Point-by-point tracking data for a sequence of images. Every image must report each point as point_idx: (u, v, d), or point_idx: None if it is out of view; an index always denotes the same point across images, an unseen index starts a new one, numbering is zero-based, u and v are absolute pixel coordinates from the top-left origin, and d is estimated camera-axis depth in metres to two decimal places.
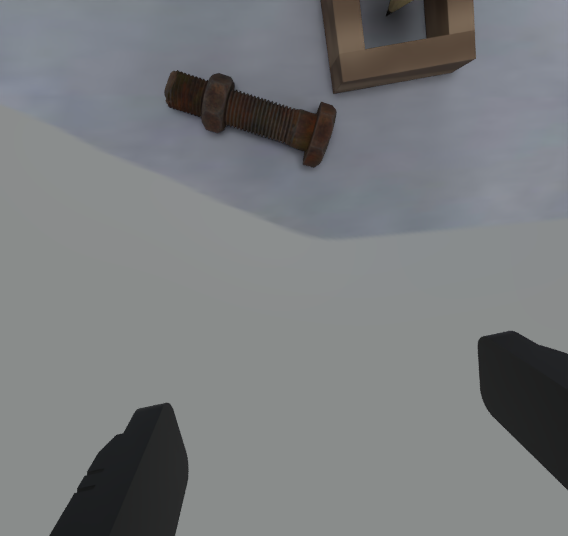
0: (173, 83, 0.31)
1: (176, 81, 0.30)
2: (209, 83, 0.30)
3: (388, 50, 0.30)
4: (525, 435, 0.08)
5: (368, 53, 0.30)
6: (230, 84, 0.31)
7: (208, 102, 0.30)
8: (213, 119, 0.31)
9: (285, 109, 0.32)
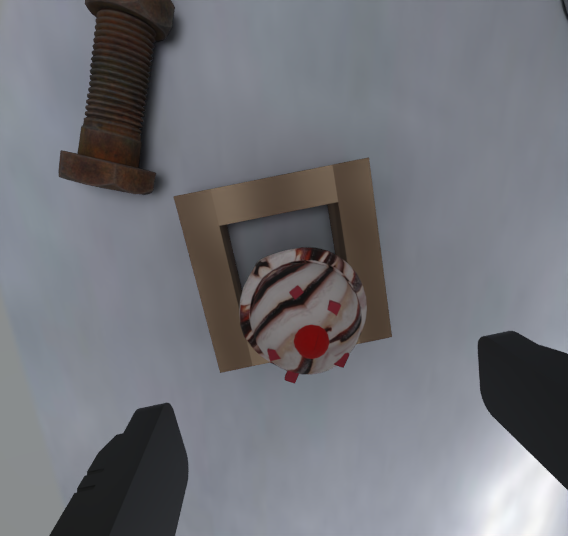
0: None
1: None
2: None
3: (220, 258, 0.22)
4: (525, 435, 0.08)
5: (214, 231, 0.22)
6: (147, 17, 0.19)
7: None
8: None
9: (127, 113, 0.21)
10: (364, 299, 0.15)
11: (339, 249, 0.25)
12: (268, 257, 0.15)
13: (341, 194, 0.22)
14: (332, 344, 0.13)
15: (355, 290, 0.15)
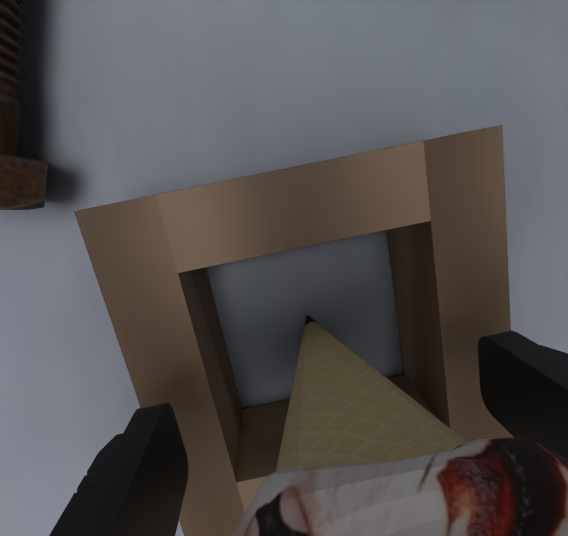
0: None
1: None
2: None
3: (182, 339, 0.11)
4: (525, 435, 0.08)
5: (167, 284, 0.10)
6: None
7: None
8: None
9: None
10: None
11: (413, 306, 0.13)
12: (314, 503, 0.03)
13: (438, 204, 0.10)
14: None
15: None
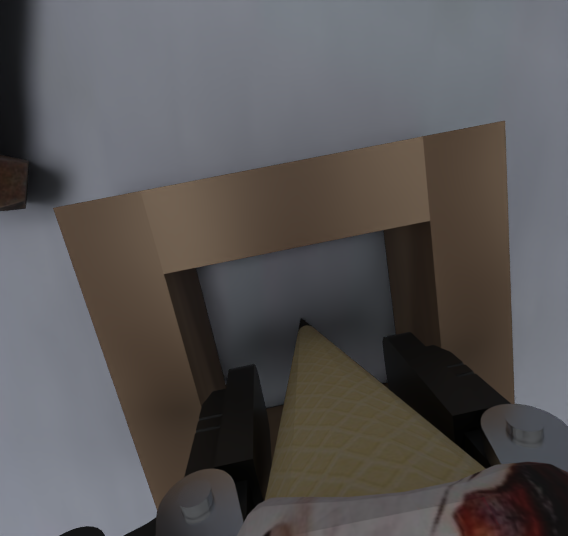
0: None
1: None
2: None
3: (168, 344, 0.10)
4: None
5: (153, 286, 0.10)
6: None
7: None
8: None
9: None
10: None
11: (411, 309, 0.13)
12: None
13: (438, 203, 0.10)
14: None
15: None
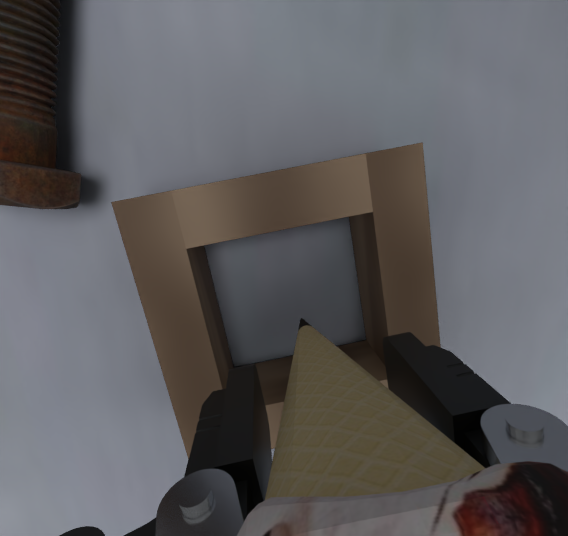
0: None
1: None
2: None
3: (188, 299, 0.14)
4: None
5: (178, 257, 0.14)
6: None
7: None
8: None
9: (20, 80, 0.13)
10: None
11: (368, 280, 0.17)
12: None
13: (378, 199, 0.14)
14: None
15: None
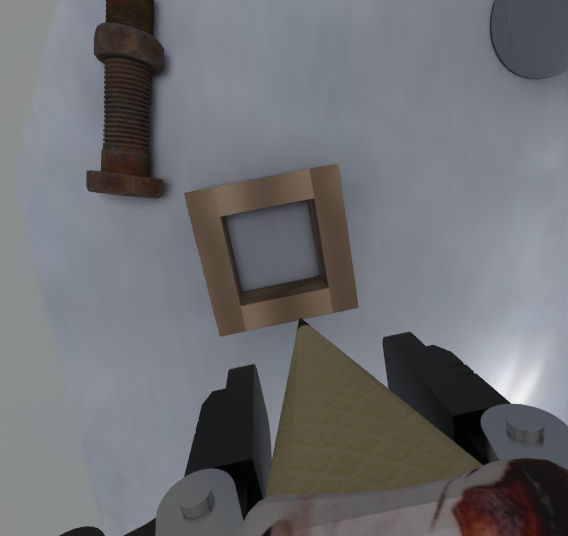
0: None
1: None
2: (133, 29, 0.24)
3: (220, 243, 0.28)
4: None
5: (216, 220, 0.27)
6: (144, 60, 0.25)
7: (109, 29, 0.24)
8: (97, 41, 0.25)
9: (136, 135, 0.26)
10: None
11: (316, 237, 0.30)
12: None
13: (316, 192, 0.28)
14: None
15: None
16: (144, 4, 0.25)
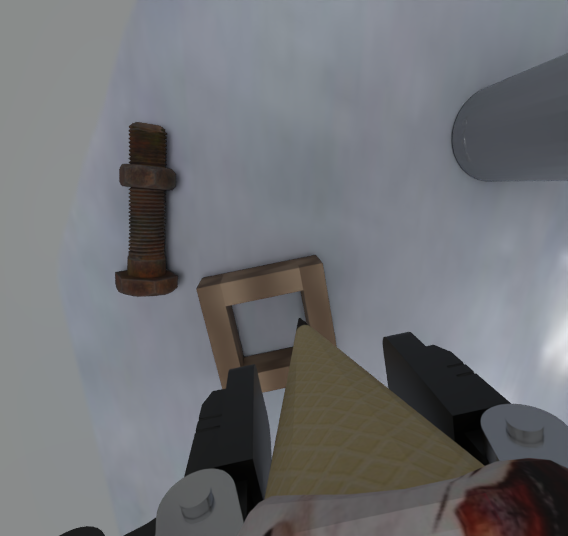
0: (146, 130, 0.30)
1: (148, 133, 0.30)
2: (152, 168, 0.30)
3: (226, 326, 0.34)
4: None
5: (222, 309, 0.33)
6: (161, 188, 0.31)
7: (133, 170, 0.30)
8: (123, 177, 0.30)
9: (156, 245, 0.32)
10: None
11: (306, 316, 0.36)
12: None
13: (305, 285, 0.33)
14: None
15: None
16: (159, 144, 0.31)
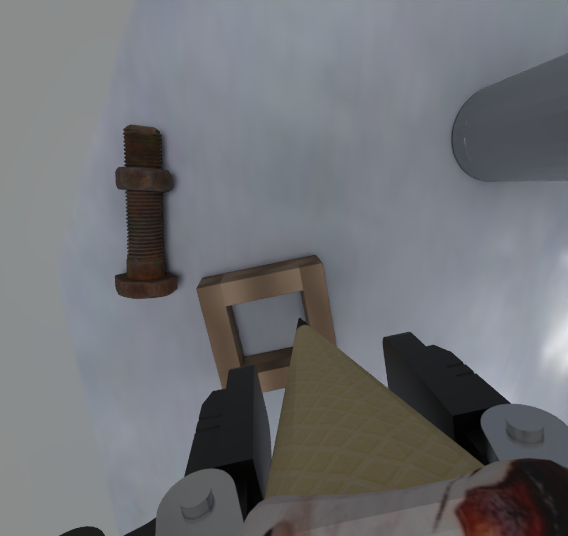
0: (140, 133, 0.30)
1: (142, 136, 0.30)
2: (147, 170, 0.30)
3: (226, 326, 0.34)
4: None
5: (222, 309, 0.33)
6: (157, 190, 0.31)
7: (129, 173, 0.30)
8: (119, 180, 0.31)
9: (154, 247, 0.32)
10: None
11: (306, 316, 0.36)
12: None
13: (305, 285, 0.33)
14: None
15: None
16: (154, 146, 0.31)
